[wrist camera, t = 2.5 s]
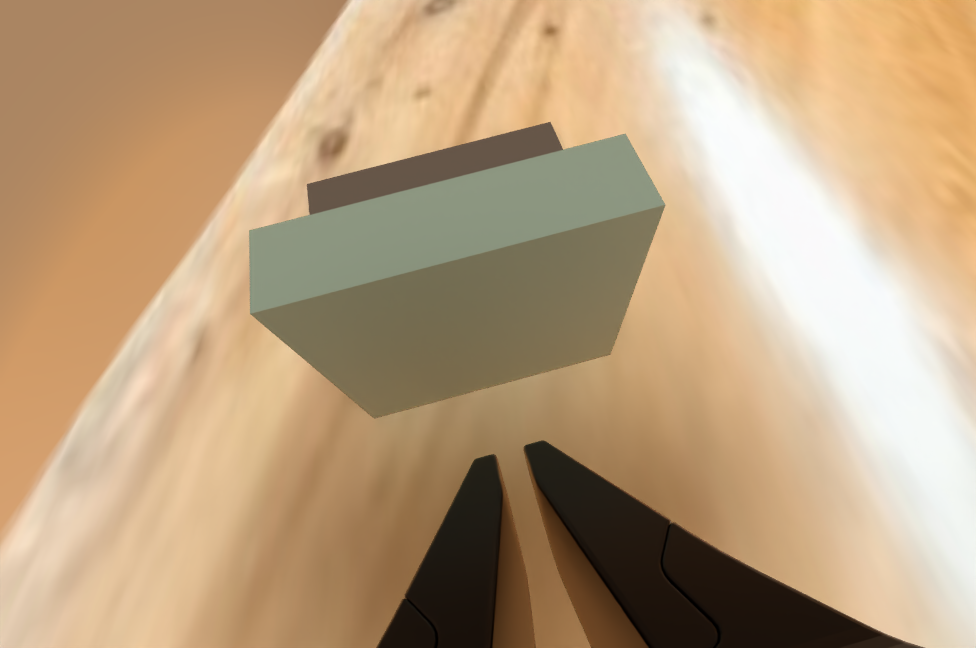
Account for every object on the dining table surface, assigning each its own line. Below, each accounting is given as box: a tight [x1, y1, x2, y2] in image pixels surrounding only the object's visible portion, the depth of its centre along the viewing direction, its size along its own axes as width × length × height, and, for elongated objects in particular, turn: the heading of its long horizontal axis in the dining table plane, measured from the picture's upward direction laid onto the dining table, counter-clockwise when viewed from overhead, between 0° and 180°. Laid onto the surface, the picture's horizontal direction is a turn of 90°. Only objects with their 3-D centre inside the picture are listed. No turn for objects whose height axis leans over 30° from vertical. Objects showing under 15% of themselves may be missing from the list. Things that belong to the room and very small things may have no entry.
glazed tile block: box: [249, 134, 665, 418], centre depth 19 cm, size 3×12×11 cm, turn 104°
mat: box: [307, 122, 563, 215], centre depth 27 cm, size 12×16×1 cm
